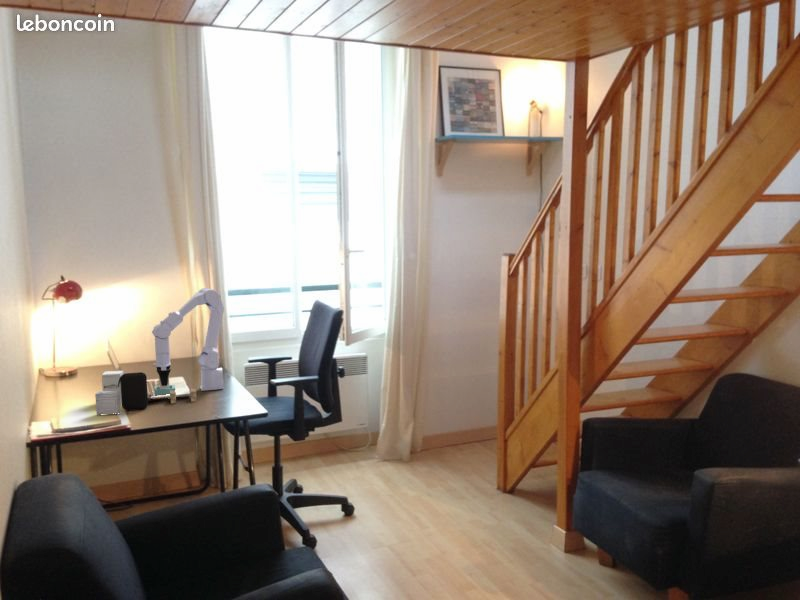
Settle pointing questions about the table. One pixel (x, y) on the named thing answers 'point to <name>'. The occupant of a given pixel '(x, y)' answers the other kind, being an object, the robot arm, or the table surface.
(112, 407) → the medicine box
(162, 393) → the port
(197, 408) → the table surface
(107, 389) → the supplement box
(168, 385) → the plug
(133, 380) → the black rounded piece
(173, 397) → the wooden pieces
